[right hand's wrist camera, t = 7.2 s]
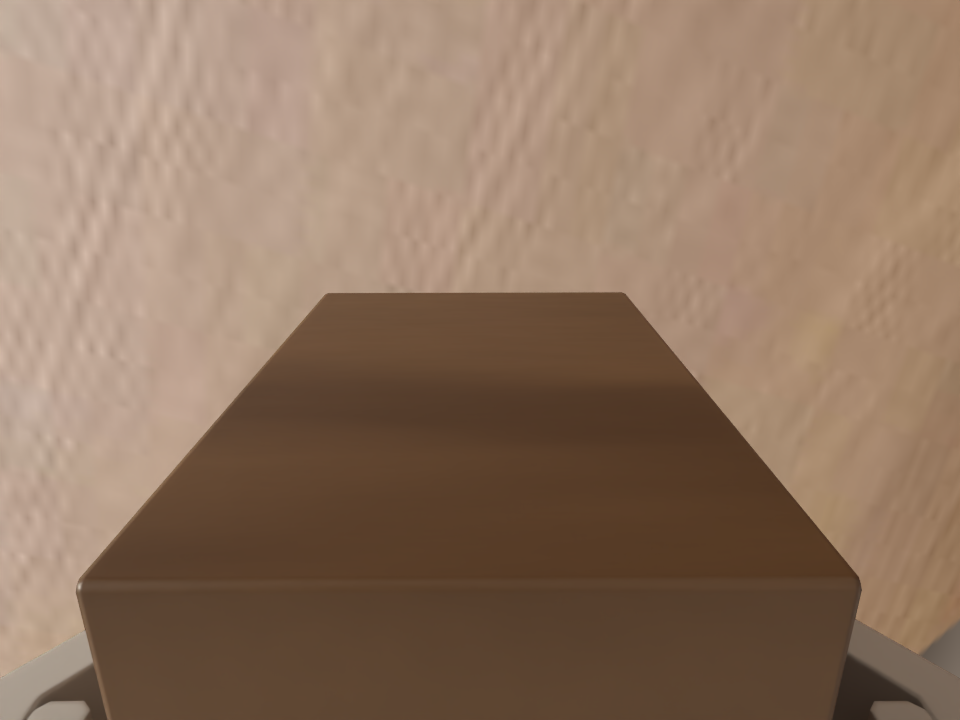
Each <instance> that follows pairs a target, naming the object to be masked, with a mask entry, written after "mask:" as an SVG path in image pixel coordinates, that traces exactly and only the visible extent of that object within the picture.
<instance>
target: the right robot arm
mask: <svg viewBox="0 0 960 720" xmlns="http://www.w3.org/2000/svg"><path fill="white" fill-rule="evenodd" d="M0 720H107V716H106V712H105V708H104V704H103V700H102V696H101V692H100V687H99V683H98V679H97V675H96V671H95V667H94V663H93V659H92V655H91V651H90V647H89V643H88V639H87V635H86V631H85V630H84V631H83V632H81V633H79V634H77V635H75V636H74V637H72V638H70V639H68V640H67V641H65V642H63V643H61V644H60V645H58V646H56V647H54V648H52V649H51V650H49V651H47V652H45V653H44V654H42V655H40V656H38V657H37V658H35V659H33V660H31V661H29V662H28V663H26V664H24V665H22V666H21V667H19V668H17V669H15V670H14V671H12V672H10V673H8V674H6V675H5V676H3V677H1V678H0ZM832 720H960V678H958V677H956V676H955V675H953V674H951V673H949V672H948V671H946V670H944V669H942V668H941V667H939V666H937V665H935V664H934V663H932V662H930V661H928V660H927V659H925V658H923V657H921V656H919V655H918V654H916V653H914V652H912V651H911V650H909V649H907V648H905V647H904V646H902V645H900V644H898V643H897V642H895V641H893V640H891V639H890V638H888V637H886V636H884V635H882V634H881V633H879V632H877V631H875V630H874V629H872V628H870V627H868V626H867V625H865V624H863V623H861V622H860V621H858V620H856V619H855V621H854V626H853V630H852V635H851V639H850V643H849V648H848V652H847V657H846V661H845V665H844V670H843V674H842V678H841V683H840V687H839V692H838V696H837V700H836V705H835V709H834V714H833V718H832Z"/></svg>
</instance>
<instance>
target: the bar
mask: <svg viewBox="0 0 960 720" xmlns="http://www.w3.org/2000/svg"><path fill="white" fill-rule="evenodd" d="M861 591H862V589H861V583H860V580H859V577H858V576H857V574H856V573H855V572H854V571H853V570H852V568H851V567H850V566H849V565H848V563H847V562H846V561H845V560H844V559H843V557H842V556H841V555H840V554H839V553H838V551H837V550H836V549H835V548H834V547H833V545H832V544H831V543H830V542H829V540H828V539H827V538H826V537H825V536H824V534H823V533H822V532H821V531H820V530H819V528H818V527H817V526H816V525H815V523H814V522H813V521H812V520H811V519H810V517H809V516H808V515H807V514H806V513H805V511H804V510H803V509H802V508H801V507H800V505H799V504H798V503H797V502H796V500H795V499H794V498H793V497H792V496H791V494H790V493H789V492H788V491H787V490H786V488H785V487H784V486H783V485H782V483H781V482H780V481H779V480H778V479H777V477H776V476H775V475H774V474H773V473H772V471H771V470H770V469H769V468H768V466H767V465H766V464H765V463H764V462H763V460H762V459H761V458H760V457H759V456H758V454H757V453H756V452H755V451H754V450H753V448H752V447H751V446H750V445H749V443H748V442H747V441H746V440H745V439H744V437H743V436H742V435H741V434H740V433H739V431H738V430H737V429H736V428H735V426H734V425H733V424H732V423H731V422H730V420H729V419H728V418H727V417H726V416H725V414H724V413H723V412H722V411H721V409H720V408H719V407H718V406H717V405H716V403H715V402H714V401H713V400H712V399H711V397H710V396H709V395H708V394H707V393H706V391H705V390H704V389H703V388H702V386H701V385H700V384H699V383H698V382H697V380H696V379H695V378H694V377H693V376H692V374H691V373H690V372H689V371H688V369H687V368H686V367H685V366H684V365H683V363H682V362H681V361H680V360H679V359H678V357H677V356H676V355H675V354H674V353H673V351H672V350H671V349H670V348H669V346H668V345H667V344H666V343H665V342H664V340H663V339H662V338H661V337H660V336H659V334H658V333H657V332H656V331H655V329H654V328H653V327H652V326H651V325H650V323H649V322H648V321H647V320H646V319H645V317H644V316H643V315H642V314H641V312H640V311H639V310H638V309H637V308H636V306H635V305H634V304H633V303H632V302H631V300H630V299H629V298H628V297H627V296H626V294H624V293H622V292H619V293H328V294H326V295H325V296H324V297H323V298H322V299H321V300H320V301H319V302H318V304H317V305H316V306H315V307H314V308H313V309H312V311H311V312H310V313H309V314H308V315H307V316H306V317H305V319H304V320H303V321H302V322H301V323H300V324H299V326H298V327H297V328H296V329H295V330H294V331H293V332H292V334H291V335H290V336H289V337H288V338H287V339H286V341H285V342H284V343H283V344H282V345H281V346H280V348H279V349H278V350H277V351H276V352H275V353H274V354H273V356H272V357H271V358H270V359H269V360H268V361H267V363H266V364H265V365H264V366H263V367H262V368H261V369H260V371H259V372H258V373H257V374H256V375H255V376H254V378H253V379H252V380H251V381H250V382H249V383H248V385H247V386H246V387H245V388H244V389H243V390H242V391H241V393H240V394H239V395H238V396H237V397H236V398H235V400H234V401H233V402H232V403H231V404H230V405H229V406H228V408H227V409H226V410H225V411H224V412H223V413H222V415H221V416H220V417H219V418H218V419H217V420H216V422H215V423H214V424H213V425H212V426H211V427H210V428H209V430H208V431H207V432H206V433H205V434H204V435H203V437H202V438H201V439H200V440H199V441H198V442H197V443H196V445H195V446H194V447H193V448H192V449H191V450H190V452H189V453H188V454H187V455H186V456H185V457H184V458H183V460H182V461H181V462H180V463H179V464H178V465H177V467H176V468H175V469H174V470H173V471H172V472H171V474H170V475H169V476H168V477H167V478H166V479H165V480H164V482H163V483H162V484H161V485H160V486H159V487H158V489H157V490H156V491H155V492H154V493H153V494H152V495H151V497H150V498H149V499H148V500H147V501H146V502H145V504H144V505H143V506H142V507H141V508H140V509H139V511H138V512H137V513H136V514H135V515H134V516H133V517H132V519H131V520H130V521H129V522H128V523H127V524H126V526H125V527H124V528H123V529H122V530H121V531H120V532H119V534H118V535H117V536H116V537H115V538H114V539H113V541H112V542H111V543H110V544H109V545H108V546H107V548H106V549H105V550H104V551H103V552H102V553H101V554H100V556H99V557H98V558H97V559H96V560H95V561H94V563H93V564H92V565H91V566H90V567H89V568H88V569H87V571H86V572H85V573H84V574H83V575H82V576H81V578H80V579H79V581H78V584H77V588H76V595H77V599H78V603H79V607H80V611H81V615H82V619H83V623H84V627H85V631H86V635H87V639H88V643H89V647H90V651H91V655H92V659H93V663H94V667H95V671H96V675H97V679H98V683H99V687H100V692H101V696H102V700H103V704H104V708H105V712H106V716H107V720H832V718H833V714H834V709H835V705H836V700H837V696H838V692H839V687H840V683H841V678H842V674H843V670H844V665H845V661H846V657H847V652H848V648H849V643H850V639H851V635H852V630H853V626H854V621H855V617H856V613H857V608H858V604H859V599H860V595H861Z"/></svg>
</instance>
